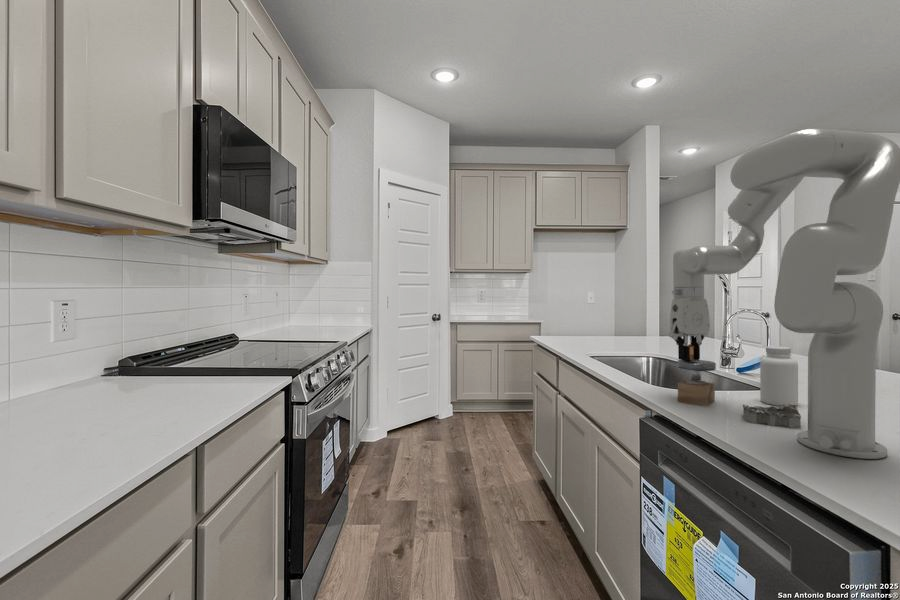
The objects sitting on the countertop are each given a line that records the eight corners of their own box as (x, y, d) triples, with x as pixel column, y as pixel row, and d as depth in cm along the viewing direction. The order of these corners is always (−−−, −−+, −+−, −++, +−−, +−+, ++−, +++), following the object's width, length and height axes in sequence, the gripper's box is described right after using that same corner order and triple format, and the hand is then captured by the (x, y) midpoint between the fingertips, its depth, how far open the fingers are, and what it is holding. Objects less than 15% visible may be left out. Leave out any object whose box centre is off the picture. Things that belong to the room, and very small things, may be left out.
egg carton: (798, 422, 97) (799, 404, 97) (802, 431, 91) (802, 412, 91) (742, 414, 103) (742, 398, 103) (742, 422, 97) (742, 404, 97)
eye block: (706, 406, 110) (706, 385, 110) (677, 401, 115) (677, 381, 115) (714, 401, 115) (714, 381, 115) (686, 396, 120) (686, 377, 120)
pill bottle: (753, 401, 114) (753, 346, 114) (770, 398, 118) (771, 344, 117) (787, 408, 107) (787, 349, 107) (804, 404, 110) (804, 347, 110)
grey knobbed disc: (723, 382, 110) (723, 349, 110) (690, 383, 110) (690, 349, 110) (700, 375, 120) (700, 344, 120) (669, 376, 120) (669, 345, 120)
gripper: (676, 294, 112) (677, 363, 112) (722, 293, 117) (723, 359, 117) (654, 294, 119) (655, 359, 119) (699, 293, 124) (699, 356, 124)
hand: (689, 358), depth 118 cm, fingers open, 3 cm apart
